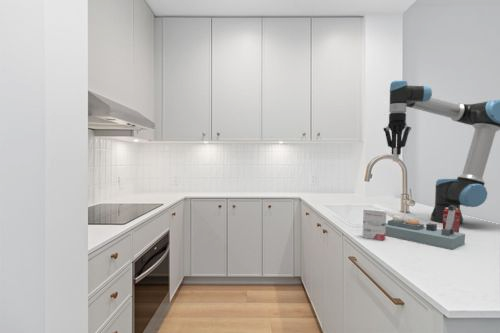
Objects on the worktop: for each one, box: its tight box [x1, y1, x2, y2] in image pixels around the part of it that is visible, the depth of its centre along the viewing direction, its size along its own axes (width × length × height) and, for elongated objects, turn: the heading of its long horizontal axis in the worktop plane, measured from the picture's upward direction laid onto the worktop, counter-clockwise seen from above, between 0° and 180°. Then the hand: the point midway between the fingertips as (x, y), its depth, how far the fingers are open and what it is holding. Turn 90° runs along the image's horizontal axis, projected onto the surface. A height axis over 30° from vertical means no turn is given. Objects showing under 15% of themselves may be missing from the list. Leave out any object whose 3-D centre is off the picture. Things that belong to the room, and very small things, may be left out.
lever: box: [445, 205, 457, 233], centre depth 130 cm, size 4×2×11 cm, turn 131°
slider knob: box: [425, 223, 438, 231], centre depth 138 cm, size 3×3×2 cm
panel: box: [385, 219, 466, 250], centre depth 139 cm, size 14×29×6 cm, turn 41°
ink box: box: [362, 208, 387, 241], centre depth 139 cm, size 9×5×12 cm, turn 59°
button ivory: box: [392, 214, 405, 223], centre depth 146 cm, size 4×4×2 cm
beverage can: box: [442, 207, 460, 233], centre depth 147 cm, size 6×6×12 cm
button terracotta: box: [406, 219, 420, 226], centre depth 141 cm, size 4×4×2 cm
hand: (395, 161), depth 162 cm, fingers closed
